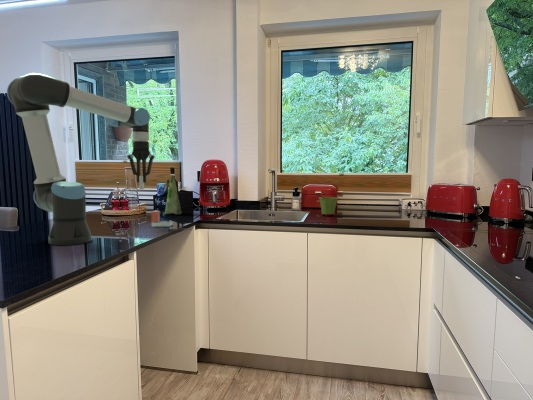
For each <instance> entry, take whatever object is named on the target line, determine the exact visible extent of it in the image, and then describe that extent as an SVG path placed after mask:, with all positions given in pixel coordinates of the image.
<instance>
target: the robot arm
mask: <svg viewBox="0 0 533 400" xmlns="http://www.w3.org/2000/svg"><path fill="white" fill-rule="evenodd" d="M6 95H7V98H8V101H9V102H10V103H11V104H12V105H13V106H14V111H15V114H16V115H17V116H19V117H21V119H22V124H23V127H24V128H23V129H24V132H25V135H26V140H27V144H28V147H29V151H30V155H31V159H32V164H33V167H34V172H35V177H36V179H35V180H34V181H33V185H34V191H33V201H34V203H35V204H36V206H37V207H38V208H39V209H41V210H43V211H45V212H47V213H52V225H51V228H50V232H49V234H48V245H52V246H72V245H73V246H74V245H80V244H86V243H89V242H91V241H92V234H91V230H90V227H89V225H88V222H87V205H86V203H87V202H86V198H87V197H86V195H87V194H86V193H87V192H86V187H85V185H84V184H83V183H80V182H76V181H67V179H66V177H65V176H64V175H62V174H61V171H60V167H59V162H58V158H57V153H56V150H55V145H54V140H53V137H52V133H51V127H50V124H49V119H48V116H47V115H48V114H49V113H50V112H51V111H50V110H51V109H50V106H56V107H59V108H64V107H69V108H73V109H76V110H79V111H83V112H87V113H89V114H94V115H99V116H101V117H105V118H107V123H108V125H110V126H111V127H116V128H127V129H129V128H130V129H132V151H131V153H130V154H128V155H127V158H128V160H129V162H130V164H129V165H130V166H131V167H130V168H131V171H132V175H135V176H136V181H137V183H139V185H138V186H139V190H145V183H146V182H147V176H148V175H150V174H151V170H152V166H153V161H154V159H155V157H156V156H155V155H154V154H151V151H150V142H149V140H150V131H149V130H150V124H149V123H150V118H151V116H150V113H149V110H148V109H146V108H143V107H134V106H131V105H129V104H128V105H127V104H124V103H121V102H118V101H116V100H112V99H109V98H106V97H103V96H101V95H98V94H94V93H91V92H88V91H85V90H83V89H79V88H76V87H74V86H71V85H70V83H68V82H67V81H63V80H61V79H58V78H56V77H55V78H54V77H51V76H49V75H46V74H42V73H36V72H31V73H28V74H25V75H21V76H17V77H16V78H14V79H13V80H11V82H10V83H9V84H8V86H7V88H6ZM148 158H149V160H148V165H147V159H148ZM134 159H135V160H136V166H135V160H134ZM141 161H142V162H141ZM141 164H142V175H141Z"/></svg>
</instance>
